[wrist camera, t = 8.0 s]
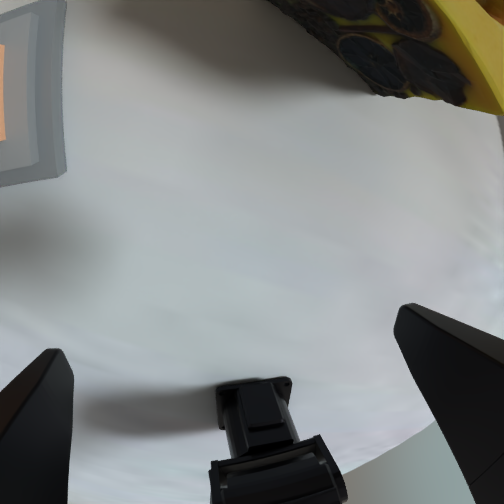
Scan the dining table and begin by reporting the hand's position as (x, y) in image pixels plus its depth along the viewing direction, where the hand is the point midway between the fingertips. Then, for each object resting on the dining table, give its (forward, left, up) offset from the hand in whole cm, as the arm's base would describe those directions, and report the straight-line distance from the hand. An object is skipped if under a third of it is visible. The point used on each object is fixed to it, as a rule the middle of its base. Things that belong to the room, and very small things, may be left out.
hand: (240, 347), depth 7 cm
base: (+7, +13, -12) cm, 19 cm away
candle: (+13, -9, -12) cm, 20 cm away
